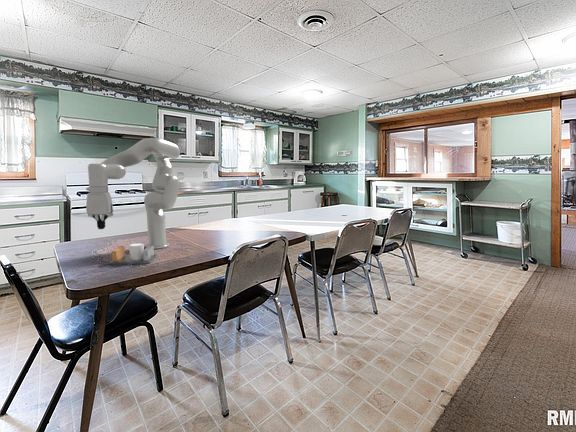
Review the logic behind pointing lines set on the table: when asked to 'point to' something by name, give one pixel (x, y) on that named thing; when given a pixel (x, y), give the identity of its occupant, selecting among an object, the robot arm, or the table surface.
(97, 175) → the robot arm
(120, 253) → the slide jaw
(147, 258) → the vise base
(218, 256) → the table surface
